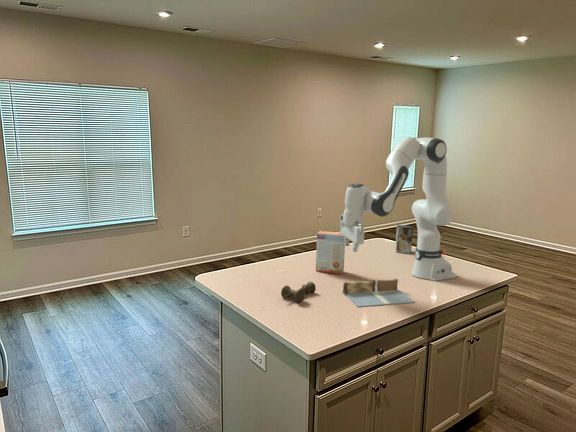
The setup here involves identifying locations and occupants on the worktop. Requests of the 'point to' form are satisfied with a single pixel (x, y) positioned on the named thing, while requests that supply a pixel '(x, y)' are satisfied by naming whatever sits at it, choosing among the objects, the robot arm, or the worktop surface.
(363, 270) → the worktop surface
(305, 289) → the kendama
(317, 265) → the cracker box
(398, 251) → the coffee box
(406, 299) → the card
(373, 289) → the tan wooden bar
